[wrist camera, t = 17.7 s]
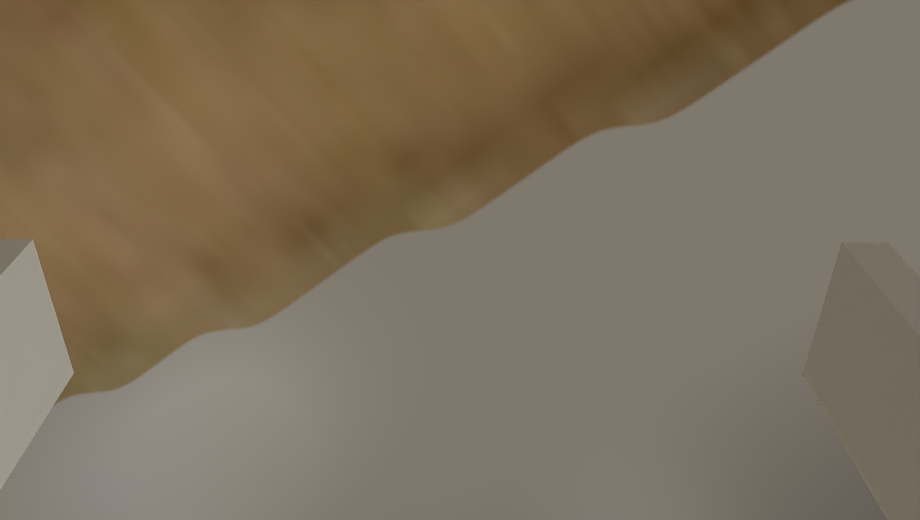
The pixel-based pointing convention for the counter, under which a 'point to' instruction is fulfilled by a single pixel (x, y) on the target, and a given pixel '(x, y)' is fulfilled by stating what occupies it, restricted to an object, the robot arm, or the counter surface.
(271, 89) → the counter surface
